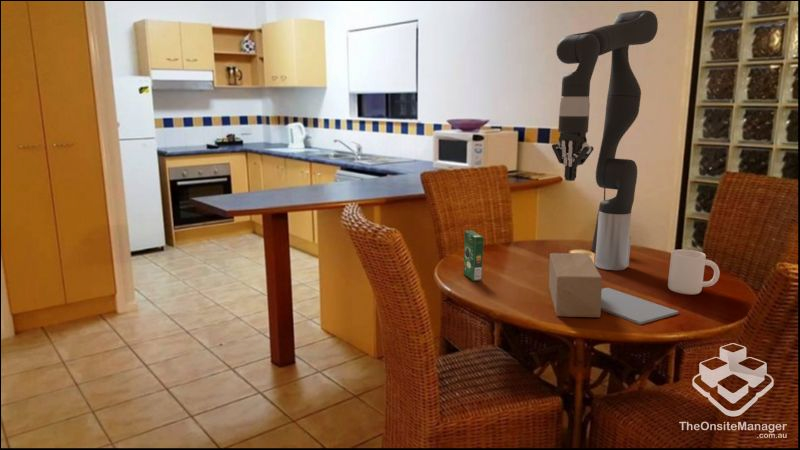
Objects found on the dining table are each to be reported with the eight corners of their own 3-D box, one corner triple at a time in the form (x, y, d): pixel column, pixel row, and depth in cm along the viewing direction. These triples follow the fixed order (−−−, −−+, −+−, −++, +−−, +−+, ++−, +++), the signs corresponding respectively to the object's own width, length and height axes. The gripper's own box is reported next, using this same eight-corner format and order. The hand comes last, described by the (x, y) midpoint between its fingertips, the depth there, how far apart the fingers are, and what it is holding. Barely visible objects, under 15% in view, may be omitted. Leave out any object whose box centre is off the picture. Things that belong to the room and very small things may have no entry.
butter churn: (618, 256, 190) (625, 171, 184) (588, 254, 191) (594, 170, 186) (613, 249, 199) (619, 168, 193) (584, 248, 200) (590, 168, 194)
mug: (715, 289, 156) (720, 252, 154) (718, 298, 148) (723, 260, 146) (667, 283, 160) (671, 248, 158) (667, 292, 153) (671, 255, 151)
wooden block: (587, 289, 153) (600, 318, 133) (548, 288, 154) (556, 317, 135) (588, 252, 150) (602, 277, 131) (549, 252, 152) (557, 276, 133)
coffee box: (482, 281, 162) (484, 236, 160) (473, 282, 162) (474, 236, 159) (471, 273, 170) (473, 230, 167) (462, 274, 169) (463, 230, 166)
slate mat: (607, 289, 155) (607, 287, 155) (678, 313, 137) (678, 311, 137) (570, 298, 148) (570, 295, 148) (640, 324, 131) (640, 322, 130)
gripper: (604, 114, 146) (599, 182, 150) (565, 114, 158) (561, 177, 161) (583, 115, 143) (578, 184, 146) (545, 114, 154) (541, 178, 157)
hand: (569, 180), depth 154 cm, fingers closed
